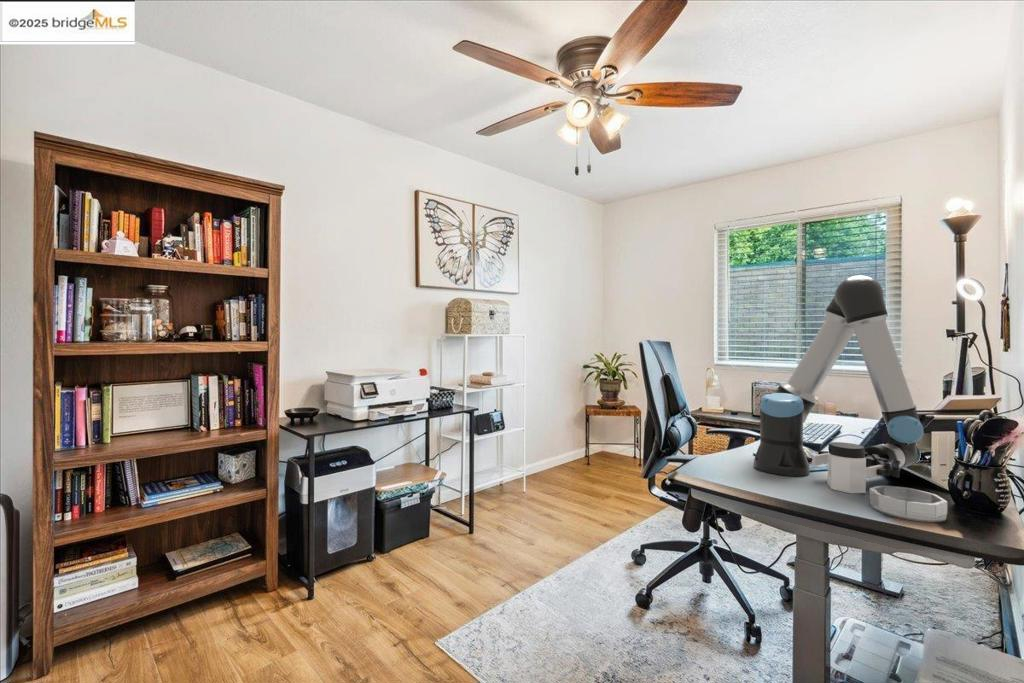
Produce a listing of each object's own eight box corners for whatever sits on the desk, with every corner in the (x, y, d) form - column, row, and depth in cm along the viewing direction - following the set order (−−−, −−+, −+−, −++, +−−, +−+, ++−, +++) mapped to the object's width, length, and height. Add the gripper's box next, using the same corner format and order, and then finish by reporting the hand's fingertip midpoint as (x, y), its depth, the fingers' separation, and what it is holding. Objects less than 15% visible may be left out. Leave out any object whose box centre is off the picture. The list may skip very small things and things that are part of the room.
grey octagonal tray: (858, 506, 114) (858, 490, 114) (888, 498, 120) (888, 482, 120) (928, 526, 102) (928, 508, 102) (958, 516, 108) (958, 499, 108)
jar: (848, 483, 132) (849, 441, 132) (874, 493, 124) (874, 448, 124) (819, 484, 131) (819, 442, 131) (842, 494, 123) (843, 449, 123)
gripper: (936, 482, 124) (893, 494, 115) (836, 460, 147) (794, 468, 137) (936, 454, 124) (893, 463, 115) (836, 437, 146) (794, 443, 137)
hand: (839, 466), depth 126 cm, fingers open, 13 cm apart
